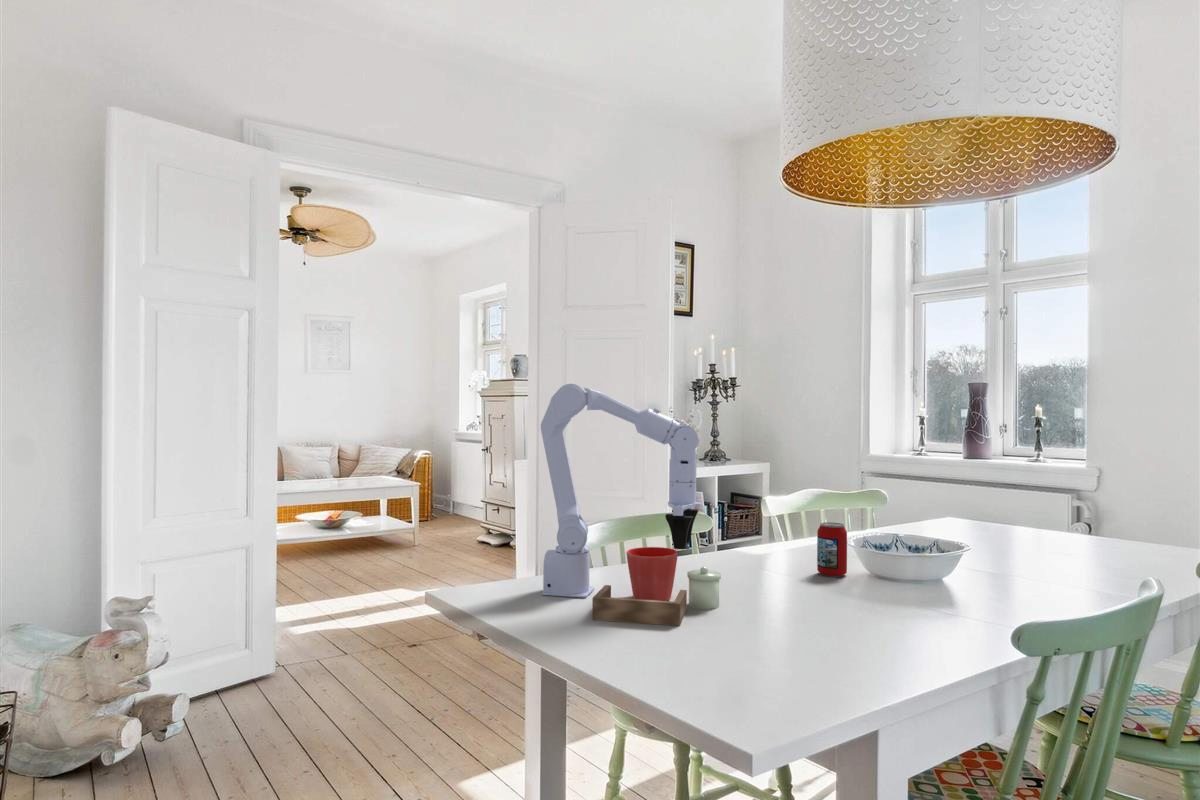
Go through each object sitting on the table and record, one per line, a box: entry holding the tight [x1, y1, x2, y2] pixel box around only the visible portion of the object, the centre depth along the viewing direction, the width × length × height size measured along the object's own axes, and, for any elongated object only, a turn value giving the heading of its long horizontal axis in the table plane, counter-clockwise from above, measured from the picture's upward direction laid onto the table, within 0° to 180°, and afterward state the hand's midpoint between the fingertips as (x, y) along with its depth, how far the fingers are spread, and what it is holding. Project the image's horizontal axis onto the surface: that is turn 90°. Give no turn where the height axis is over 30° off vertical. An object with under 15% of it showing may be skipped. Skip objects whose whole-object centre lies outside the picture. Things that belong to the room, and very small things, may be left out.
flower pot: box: [626, 546, 679, 601], centre depth 156 cm, size 11×11×10 cm
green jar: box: [686, 566, 722, 610], centre depth 150 cm, size 7×7×8 cm
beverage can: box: [816, 521, 848, 578], centre depth 179 cm, size 7×7×12 cm
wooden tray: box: [591, 584, 688, 627], centre depth 143 cm, size 16×11×4 cm, turn 77°
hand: (681, 545), depth 160 cm, fingers open, 7 cm apart
